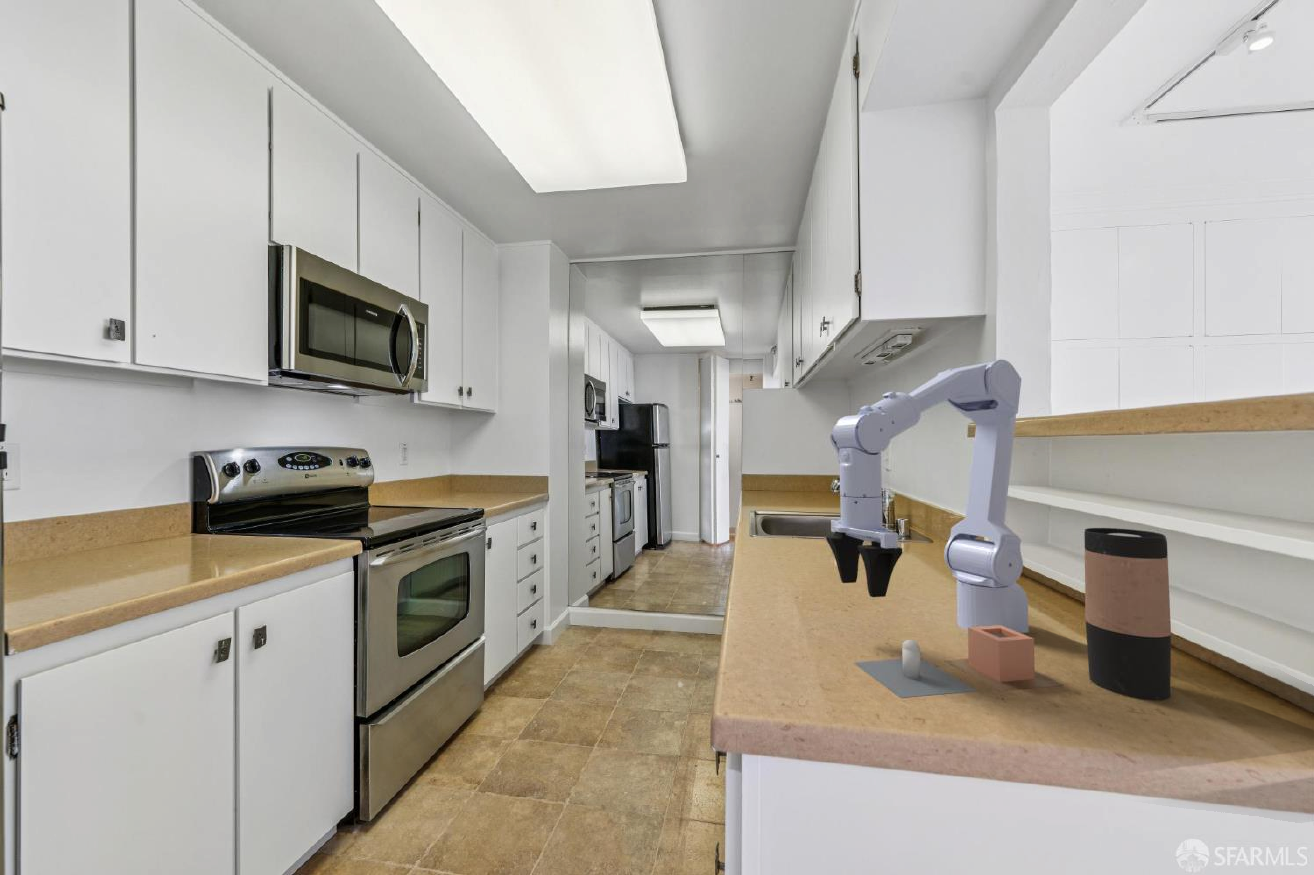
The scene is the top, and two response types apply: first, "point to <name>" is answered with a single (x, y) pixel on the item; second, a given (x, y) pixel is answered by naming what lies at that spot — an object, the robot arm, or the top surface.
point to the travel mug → (1128, 612)
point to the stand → (1003, 686)
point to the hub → (913, 675)
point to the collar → (1001, 653)
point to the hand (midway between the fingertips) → (862, 589)
